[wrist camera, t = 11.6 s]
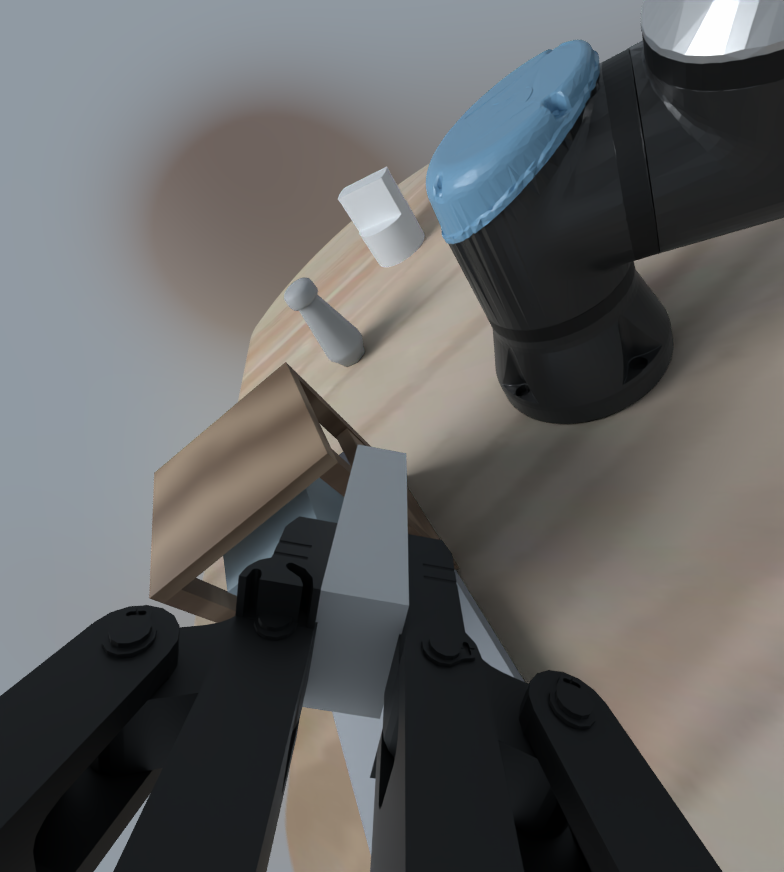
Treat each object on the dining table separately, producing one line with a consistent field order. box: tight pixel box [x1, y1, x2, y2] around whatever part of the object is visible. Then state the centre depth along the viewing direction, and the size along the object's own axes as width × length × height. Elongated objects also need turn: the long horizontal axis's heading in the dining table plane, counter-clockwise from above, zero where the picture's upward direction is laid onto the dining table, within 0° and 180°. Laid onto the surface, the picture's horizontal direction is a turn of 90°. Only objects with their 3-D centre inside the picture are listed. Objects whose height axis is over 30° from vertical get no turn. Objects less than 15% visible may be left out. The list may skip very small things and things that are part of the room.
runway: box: [333, 569, 525, 854], centre depth 36 cm, size 26×13×2 cm, turn 26°
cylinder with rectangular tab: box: [338, 167, 425, 267], centre depth 72 cm, size 9×9×12 cm
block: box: [223, 478, 344, 596], centre depth 36 cm, size 14×7×13 cm, turn 26°
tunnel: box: [149, 362, 459, 623], centre depth 36 cm, size 12×14×18 cm
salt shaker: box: [284, 278, 365, 367], centre depth 60 cm, size 6×6×13 cm
